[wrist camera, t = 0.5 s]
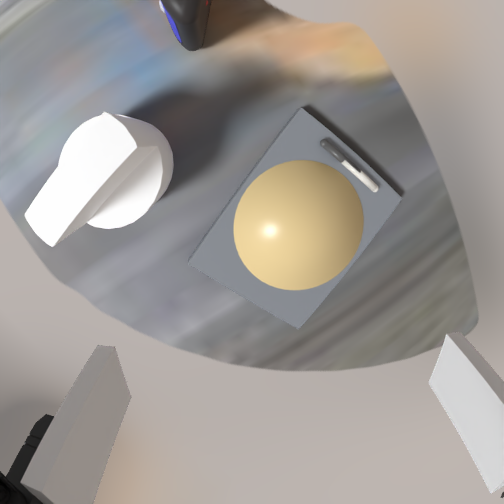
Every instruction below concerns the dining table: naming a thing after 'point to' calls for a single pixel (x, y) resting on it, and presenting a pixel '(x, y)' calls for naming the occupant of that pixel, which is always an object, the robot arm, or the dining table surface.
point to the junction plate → (296, 222)
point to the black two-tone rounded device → (187, 20)
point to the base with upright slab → (103, 178)
